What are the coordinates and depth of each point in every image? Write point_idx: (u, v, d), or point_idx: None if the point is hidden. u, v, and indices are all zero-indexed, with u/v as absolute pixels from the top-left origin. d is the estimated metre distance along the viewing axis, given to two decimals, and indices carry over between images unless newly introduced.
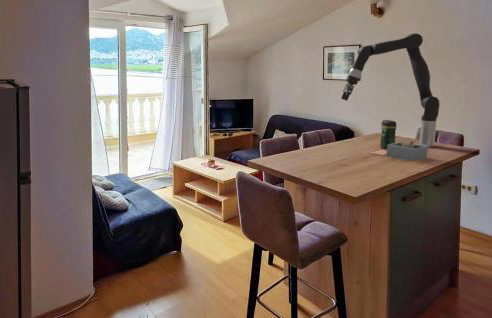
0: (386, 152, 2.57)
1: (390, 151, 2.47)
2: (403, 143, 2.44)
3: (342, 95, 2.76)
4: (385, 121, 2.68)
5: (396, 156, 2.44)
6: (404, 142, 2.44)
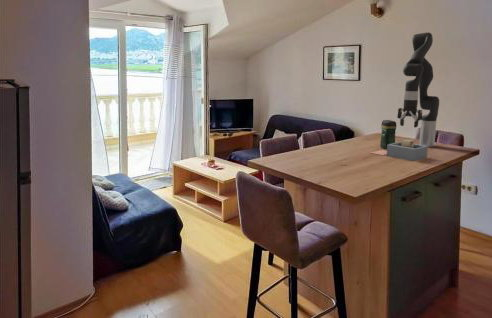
0: (386, 152, 2.57)
1: (390, 151, 2.47)
2: (403, 143, 2.44)
3: (401, 122, 2.45)
4: (385, 121, 2.68)
5: (396, 156, 2.44)
6: (404, 142, 2.44)
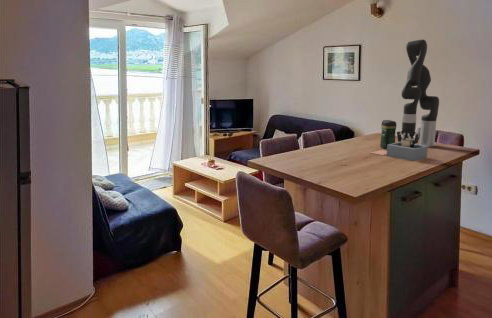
0: (386, 152, 2.57)
1: (390, 151, 2.47)
2: (403, 143, 2.44)
3: None
4: (385, 121, 2.68)
5: (396, 156, 2.44)
6: (404, 142, 2.44)
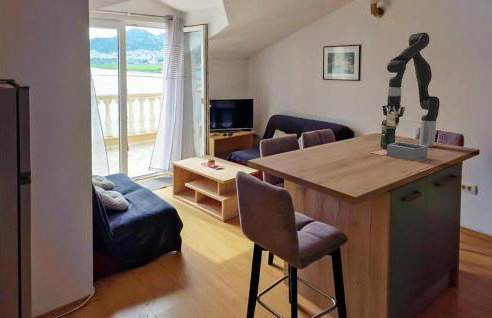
0: (386, 152, 2.57)
1: (390, 151, 2.47)
2: (389, 116, 2.47)
3: None
4: (385, 121, 2.68)
5: (396, 156, 2.44)
6: (389, 115, 2.47)
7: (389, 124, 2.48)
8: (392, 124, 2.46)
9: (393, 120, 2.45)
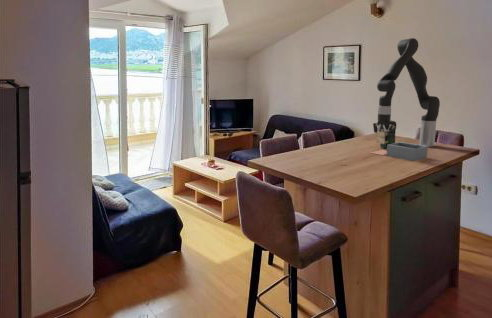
0: (386, 152, 2.57)
1: (390, 151, 2.47)
2: (379, 134, 2.54)
3: None
4: None
5: (396, 156, 2.44)
6: (379, 133, 2.53)
7: (379, 141, 2.54)
8: (382, 141, 2.53)
9: (383, 138, 2.52)
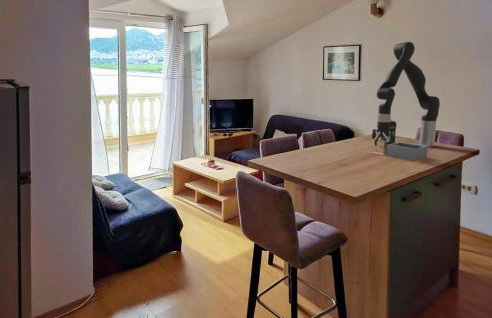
0: None
1: (390, 151, 2.47)
2: (378, 144, 2.55)
3: (375, 142, 2.58)
4: None
5: (396, 156, 2.44)
6: (379, 143, 2.55)
7: (379, 151, 2.56)
8: (382, 151, 2.54)
9: (382, 147, 2.53)
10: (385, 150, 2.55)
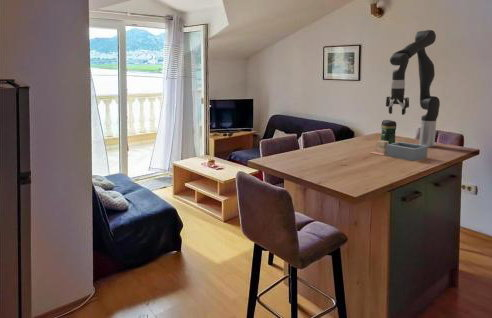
0: None
1: (390, 151, 2.47)
2: (378, 144, 2.55)
3: (389, 110, 2.54)
4: (385, 121, 2.68)
5: (396, 156, 2.44)
6: (379, 143, 2.55)
7: (379, 151, 2.56)
8: (382, 151, 2.54)
9: (382, 147, 2.53)
10: (385, 150, 2.55)
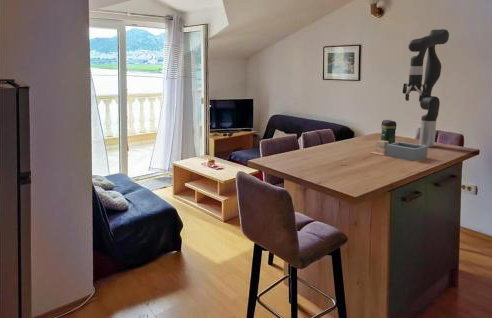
0: None
1: (390, 151, 2.47)
2: (378, 144, 2.55)
3: (406, 97, 2.53)
4: (385, 121, 2.68)
5: (396, 156, 2.44)
6: (379, 143, 2.55)
7: (379, 151, 2.56)
8: (382, 151, 2.54)
9: (382, 147, 2.53)
10: (385, 150, 2.55)
